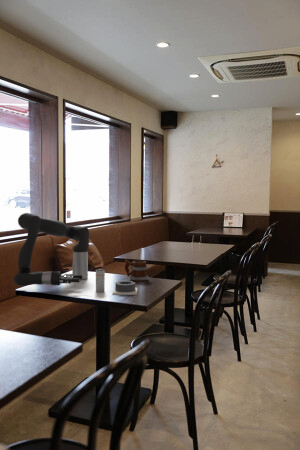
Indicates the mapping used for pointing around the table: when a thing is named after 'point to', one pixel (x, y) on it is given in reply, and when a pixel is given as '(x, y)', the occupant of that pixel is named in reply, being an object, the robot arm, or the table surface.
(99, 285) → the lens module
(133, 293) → the grey ring on base
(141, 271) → the mug
